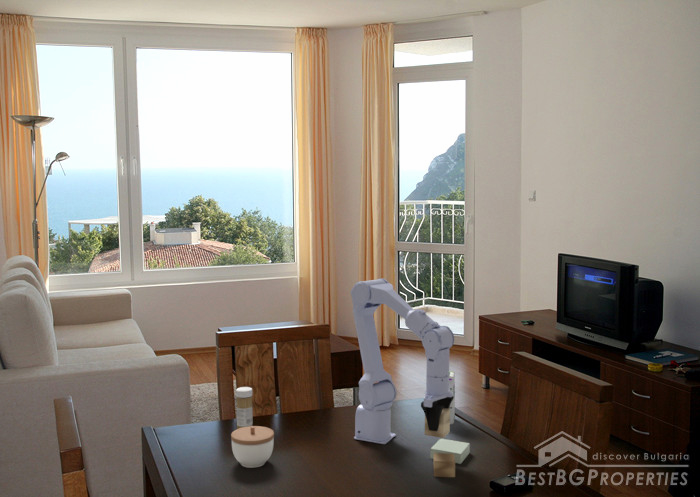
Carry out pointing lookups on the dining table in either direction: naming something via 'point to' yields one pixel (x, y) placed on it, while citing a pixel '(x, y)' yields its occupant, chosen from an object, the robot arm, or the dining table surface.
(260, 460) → the lidded jar
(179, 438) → the dining table surface
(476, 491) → the dining table surface
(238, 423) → the sprinkles bottle
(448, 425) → the maple block
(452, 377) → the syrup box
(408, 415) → the dining table surface
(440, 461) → the oak block
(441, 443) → the plinth block
